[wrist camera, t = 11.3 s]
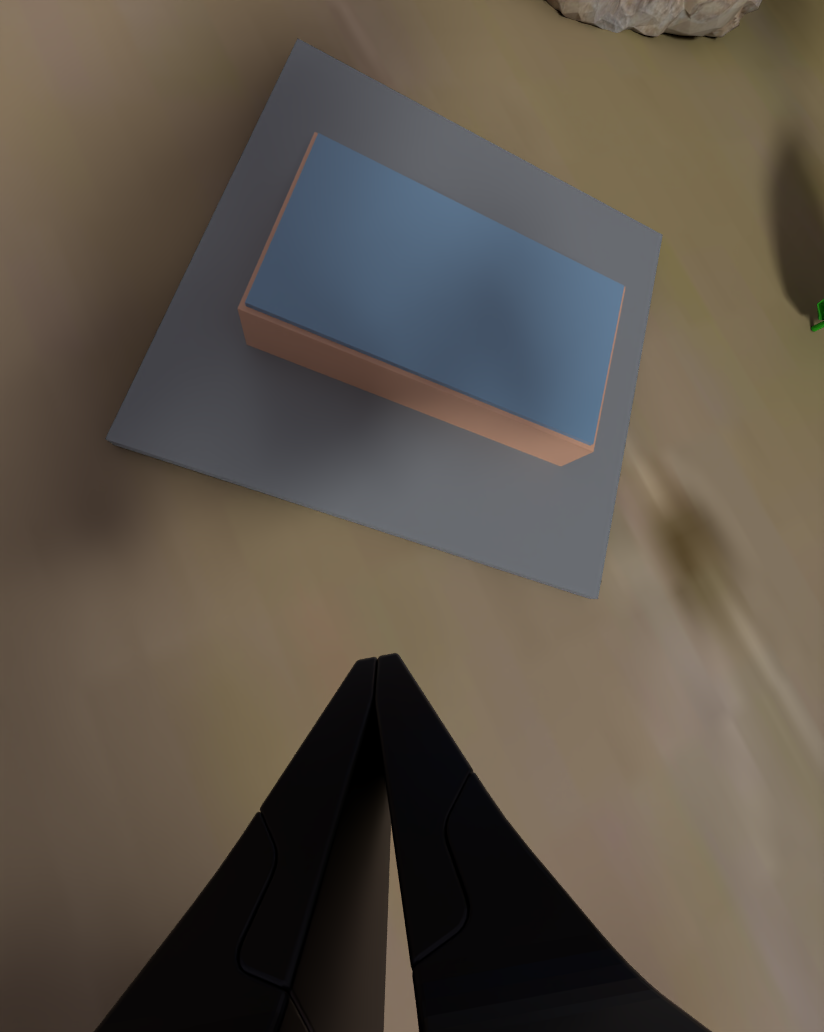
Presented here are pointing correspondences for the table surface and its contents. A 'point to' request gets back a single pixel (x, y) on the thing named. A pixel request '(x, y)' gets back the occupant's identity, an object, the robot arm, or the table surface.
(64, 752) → the table surface
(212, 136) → the table surface
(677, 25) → the clay tablet
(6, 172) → the table surface
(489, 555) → the mat
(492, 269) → the tile
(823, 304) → the flower
